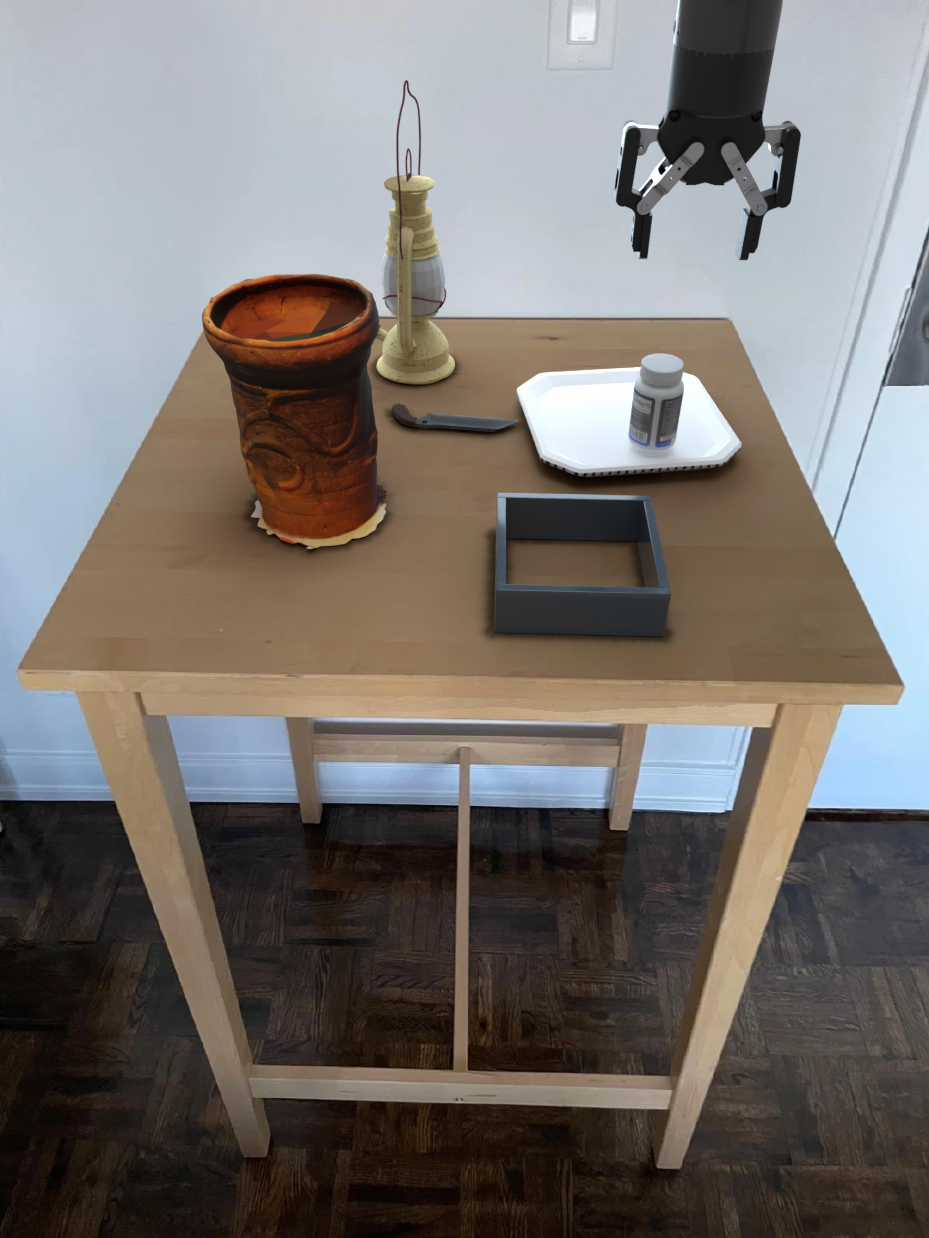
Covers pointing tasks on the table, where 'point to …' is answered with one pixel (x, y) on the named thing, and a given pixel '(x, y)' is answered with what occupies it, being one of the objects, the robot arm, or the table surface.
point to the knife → (450, 421)
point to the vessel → (303, 401)
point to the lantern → (412, 282)
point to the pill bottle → (657, 402)
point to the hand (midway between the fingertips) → (691, 256)
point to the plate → (618, 425)
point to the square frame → (581, 604)
